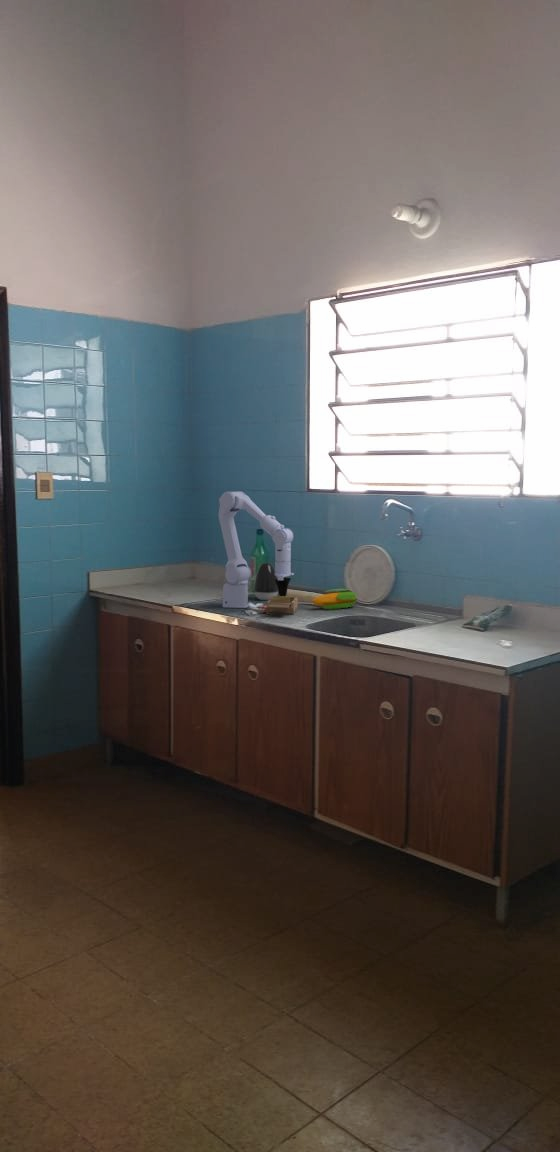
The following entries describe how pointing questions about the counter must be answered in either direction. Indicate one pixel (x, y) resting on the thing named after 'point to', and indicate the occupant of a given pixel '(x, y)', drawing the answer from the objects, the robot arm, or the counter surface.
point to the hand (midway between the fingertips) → (282, 597)
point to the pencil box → (289, 611)
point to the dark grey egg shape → (265, 582)
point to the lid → (280, 602)
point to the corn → (336, 599)
